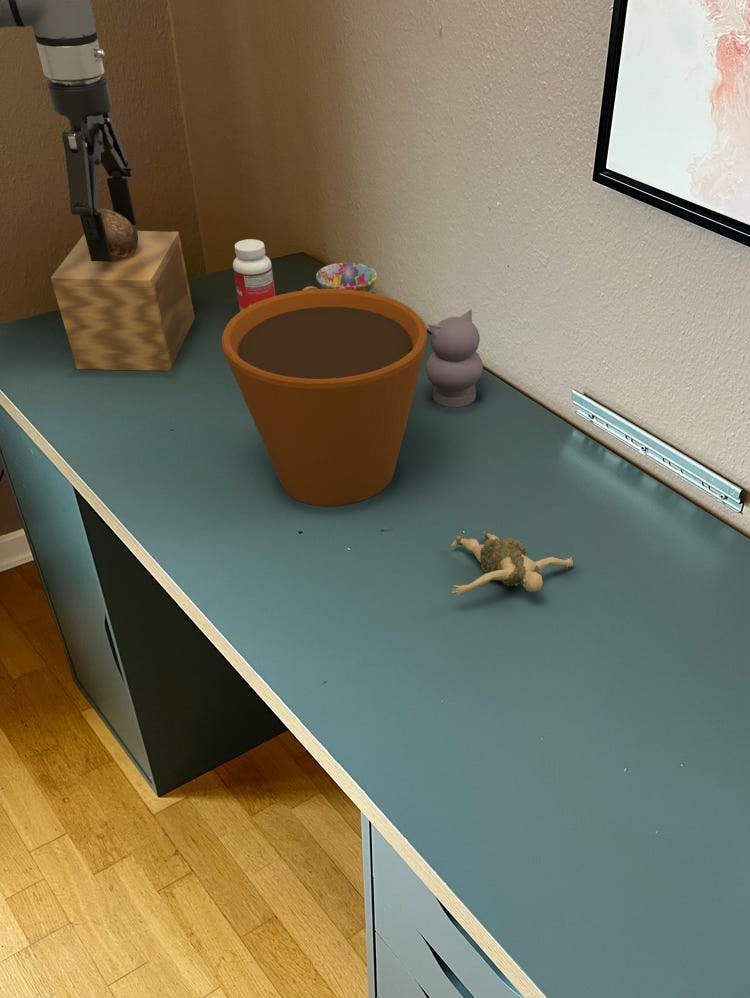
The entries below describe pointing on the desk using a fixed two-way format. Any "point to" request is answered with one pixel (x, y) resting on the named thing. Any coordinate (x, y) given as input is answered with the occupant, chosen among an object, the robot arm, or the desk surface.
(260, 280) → the pill bottle
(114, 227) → the mushroom
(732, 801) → the desk surface
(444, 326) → the cat figurine
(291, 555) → the desk surface
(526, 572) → the figurine
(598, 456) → the desk surface
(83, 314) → the wood grain cube
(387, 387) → the flower pot
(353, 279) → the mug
